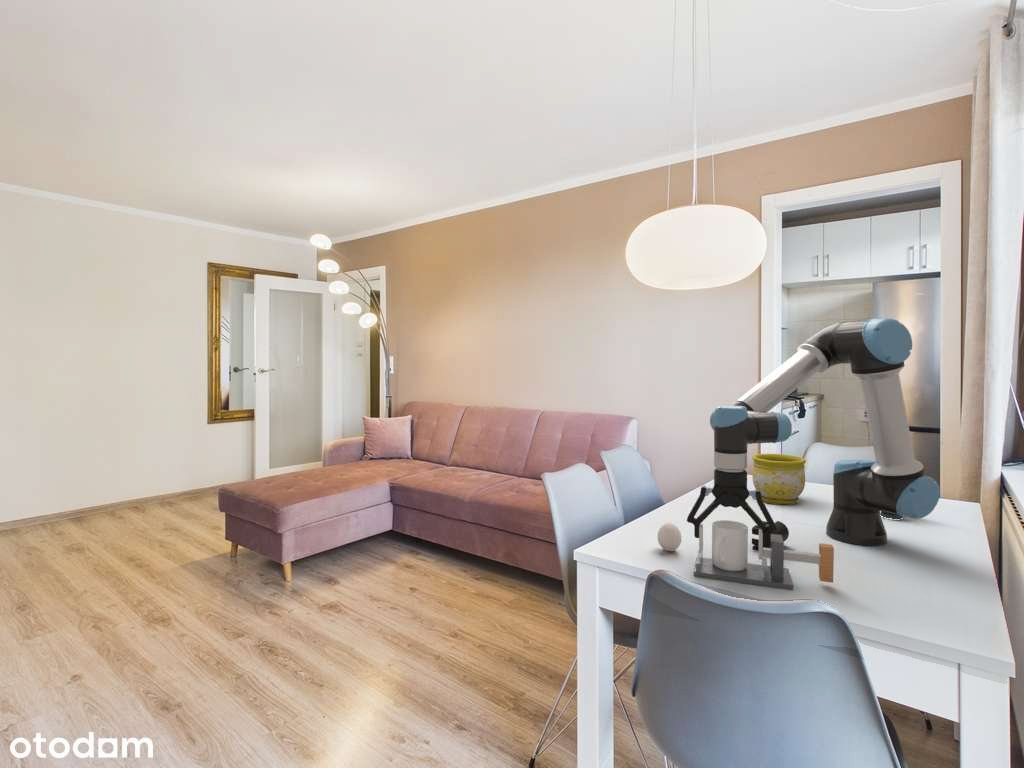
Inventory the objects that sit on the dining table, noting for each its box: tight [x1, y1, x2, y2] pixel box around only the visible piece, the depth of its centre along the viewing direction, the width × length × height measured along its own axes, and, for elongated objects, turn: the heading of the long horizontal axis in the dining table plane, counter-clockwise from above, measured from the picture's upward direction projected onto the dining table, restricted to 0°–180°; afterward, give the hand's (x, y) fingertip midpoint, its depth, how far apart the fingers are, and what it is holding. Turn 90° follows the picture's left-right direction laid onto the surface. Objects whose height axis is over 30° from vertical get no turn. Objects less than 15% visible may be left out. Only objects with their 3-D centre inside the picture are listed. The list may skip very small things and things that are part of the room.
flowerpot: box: [751, 453, 807, 505], centre depth 201 cm, size 18×18×16 cm
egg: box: [657, 521, 682, 552], centre depth 148 cm, size 6×6×8 cm
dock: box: [693, 534, 794, 591], centre depth 130 cm, size 22×11×10 cm, turn 67°
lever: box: [763, 542, 835, 583], centre depth 126 cm, size 15×3×8 cm, turn 67°
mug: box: [711, 519, 749, 571], centre depth 132 cm, size 12×8×10 cm
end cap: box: [751, 520, 790, 552], centre depth 150 cm, size 10×7×7 cm
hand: (730, 554), depth 131 cm, fingers open, 13 cm apart
